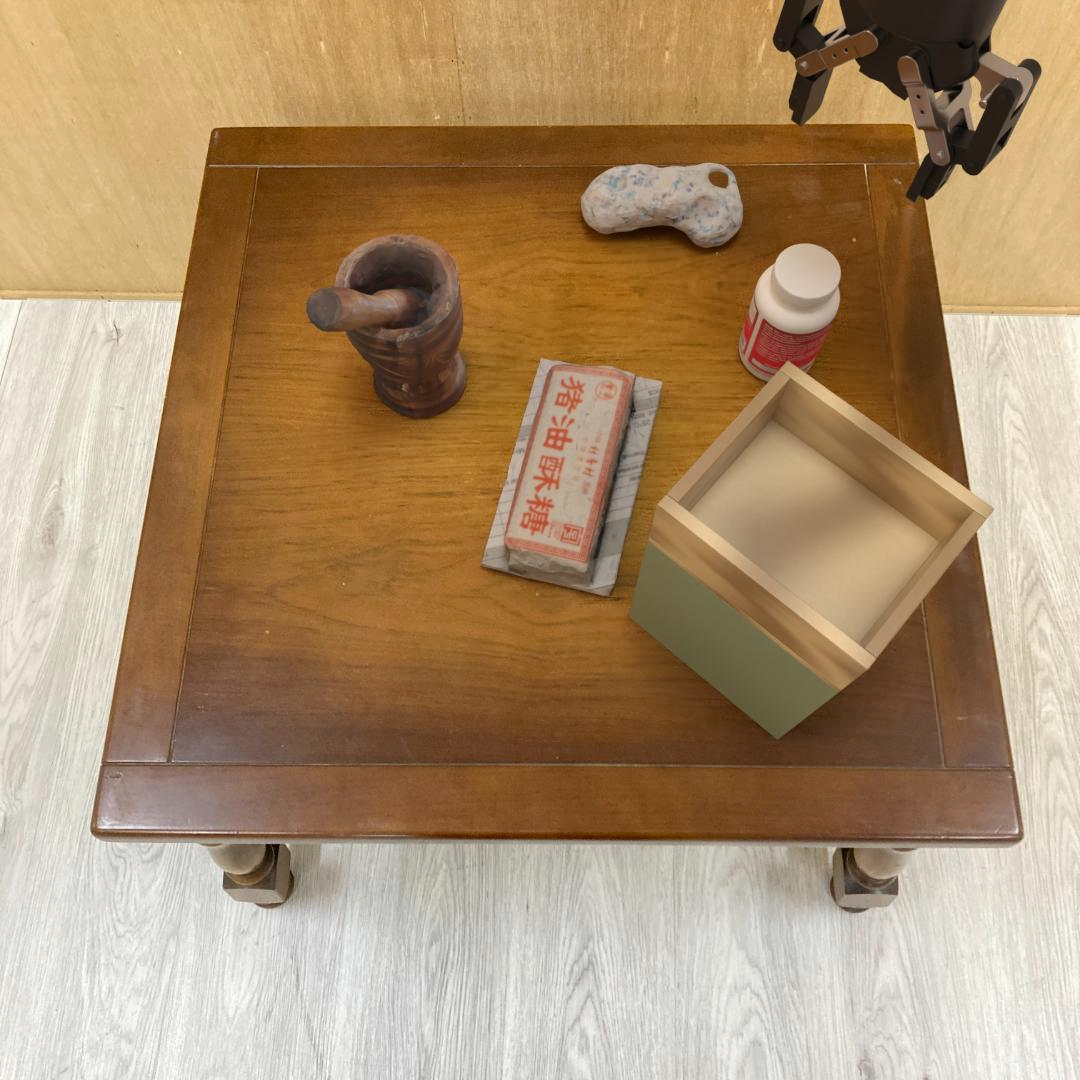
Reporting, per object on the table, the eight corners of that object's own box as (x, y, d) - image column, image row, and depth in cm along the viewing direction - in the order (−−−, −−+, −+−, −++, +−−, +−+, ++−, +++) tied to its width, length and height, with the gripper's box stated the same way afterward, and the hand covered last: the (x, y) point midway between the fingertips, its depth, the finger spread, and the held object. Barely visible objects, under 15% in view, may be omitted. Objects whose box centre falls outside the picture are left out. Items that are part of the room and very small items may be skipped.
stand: (873, 619, 74) (955, 544, 59) (777, 740, 71) (838, 693, 56) (725, 505, 77) (767, 406, 62) (627, 616, 74) (647, 540, 59)
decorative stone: (584, 262, 85) (586, 223, 80) (578, 196, 87) (579, 155, 83) (742, 252, 85) (754, 213, 81) (731, 187, 88) (742, 144, 83)
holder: (955, 544, 59) (995, 508, 54) (838, 693, 56) (868, 669, 51) (767, 406, 62) (787, 360, 57) (647, 540, 59) (656, 504, 54)
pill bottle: (828, 368, 81) (868, 288, 71) (760, 397, 81) (791, 320, 70) (789, 308, 83) (823, 221, 73) (723, 335, 83) (748, 252, 72)
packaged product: (615, 581, 70) (476, 548, 71) (611, 601, 75) (481, 570, 76) (669, 359, 76) (540, 331, 77) (662, 390, 81) (540, 363, 82)
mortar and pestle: (457, 469, 79) (428, 329, 60) (347, 455, 79) (284, 313, 60) (480, 339, 83) (460, 170, 64) (376, 327, 83) (325, 156, 64)
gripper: (1141, -64, 46) (994, 180, 61) (883, -208, 49) (805, 57, 65) (1049, 31, 44) (920, 258, 59) (788, -126, 48) (730, 127, 63)
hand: (860, 153), depth 62 cm, fingers open, 8 cm apart
